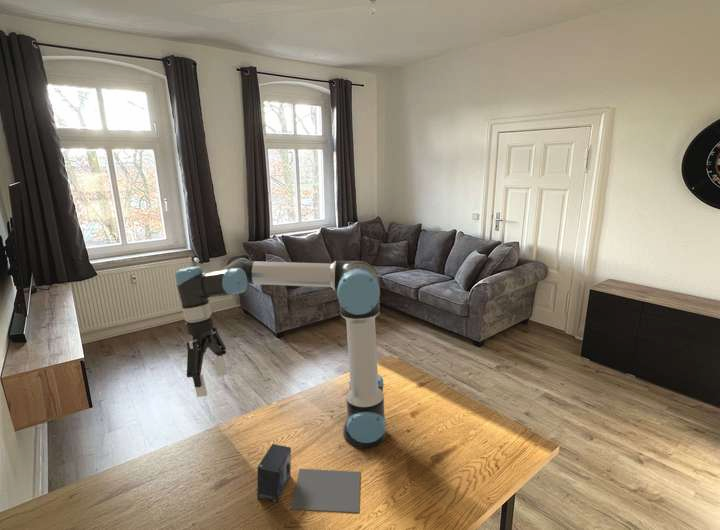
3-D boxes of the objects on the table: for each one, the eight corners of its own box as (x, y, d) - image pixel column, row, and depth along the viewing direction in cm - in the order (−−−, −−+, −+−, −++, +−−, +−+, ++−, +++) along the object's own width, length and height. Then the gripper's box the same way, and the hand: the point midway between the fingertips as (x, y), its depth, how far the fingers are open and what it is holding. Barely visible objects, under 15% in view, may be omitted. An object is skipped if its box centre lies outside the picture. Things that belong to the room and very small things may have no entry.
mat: (360, 472, 122) (360, 471, 122) (358, 513, 107) (358, 512, 107) (299, 469, 122) (299, 468, 122) (290, 509, 107) (290, 508, 107)
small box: (278, 504, 109) (277, 471, 107) (256, 499, 110) (255, 467, 108) (291, 476, 119) (291, 446, 117) (272, 472, 120) (271, 443, 118)
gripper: (206, 308, 129) (219, 368, 132) (162, 334, 104) (179, 407, 107) (228, 305, 128) (240, 366, 131) (188, 331, 103) (205, 405, 107)
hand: (213, 384), depth 119 cm, fingers open, 13 cm apart
